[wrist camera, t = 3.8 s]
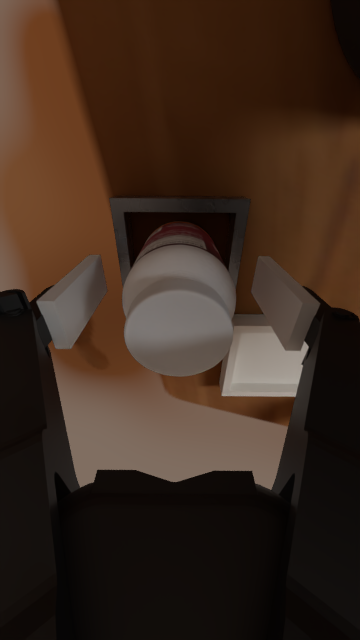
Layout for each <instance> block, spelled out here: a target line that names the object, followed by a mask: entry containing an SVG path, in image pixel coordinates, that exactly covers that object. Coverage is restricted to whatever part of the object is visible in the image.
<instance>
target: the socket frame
mask: <svg viewBox="0 0 360 640" xmlns="http://www.w3.org/2000/svg"><path fill="white" fill-rule="evenodd" d="M109 199H110V206H111V212H112V219H113V225H114V232H115V239H116V245H117V252H118V258H119V264H120V271H121V278H122V285H123V287H124V284H125V281H126V278H127V276H128V274H129V272H130V270H131V268H132V267H133V265H134V263H135V256H134V247H133V238H132V228H131V219H130V212H207V213H230V220H229V228H228V236H227V244H226V252H225V260H224V264H225V266H226V268H227V270H228V272H229V274H230V276H231V278H232V281H233V284H234V287H235V291H236V285H237V279H238V273H239V267H240V261H241V255H242V249H243V242H244V236H245V230H246V224H247V218H248V212H249V206H250V200H251V199H249V198H246V197H227V196H114V197H111V198H109Z"/></svg>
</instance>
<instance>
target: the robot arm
mask: <svg viewBox="0 0 360 640" xmlns="http://www.w3.org/2000/svg"><path fill="white" fill-rule="evenodd" d="M331 4H332V11H333V17H334V22H335V27H336V31H337V34H338V38H339V41H340V44H341V46H342V49H343V52H344V54H345V56H346V58H347V60H348V62H349V64H350V66H351V67H352V69H353V71H354V72H355V74H356V75H357V76H358V77H359V79H360V0H331ZM106 293H107V286H106V281H105V276H104V271H103V266H102V261H101V256H100V255H89V256H87V257H86V258H85V259H84V260H83V261H82V262H80V263H79V264H78V265H77V266H76V267H75V268H74V269H72V270H71V271H70V272H69V273H68V274H67V275H66V276H65V277H63V278H62V279H61V280H60V281H59V282H58V283H56V284H55V285H53V286H50V287H48V288H46V289H45V290H44V291H43V292H41V294H39V295H38V296H37V297H35V298H34V299H33V300H32V301H31V302H30V303H29V301H28V299H27V297H26V294H25V292H24V291H23V290H18V289H13V290H6V291H2V292H0V640H360V322H359V318H358V316H357V315H355V314H354V313H352V312H350V311H348V310H345V309H341V308H331V307H330V306H329V305H328V304H327V303H326V302H325V301H324V300H322V299H321V298H320V297H319V296H318V295H317V294H316V293H314V292H313V291H312V290H311V289H309V288H307V287H305V286H301V285H300V284H299V283H298V282H297V281H296V280H294V279H293V278H292V277H291V276H290V275H289V274H288V273H287V272H286V271H285V270H284V269H283V268H282V267H280V266H279V265H278V264H277V263H276V262H275V261H274V260H273V259H272V258H271V257H270V256H258V260H257V265H256V270H255V274H254V279H253V284H252V289H251V293H252V295H253V297H254V298H255V300H256V302H257V303H258V305H259V307H260V308H261V310H262V312H263V314H264V315H265V317H266V319H267V320H268V322H269V324H270V325H271V327H272V329H273V330H274V332H275V334H276V336H277V337H278V339H279V341H280V342H281V344H282V346H283V347H284V349H285V351H301V349H302V346H303V344H304V341H305V342H306V344H307V345H308V346H309V348H308V350H307V352H306V354H305V357H304V359H303V361H302V363H301V365H303V368H302V372H301V376H300V380H299V384H298V388H297V393H296V397H295V401H294V405H293V409H292V413H291V418H290V422H289V426H288V430H287V434H286V438H285V443H284V447H283V451H282V455H281V459H280V464H279V468H278V472H277V476H276V479H275V482H274V484H273V487H272V490H270V489H267V488H265V487H263V486H261V485H258V484H255V482H254V477H253V473H252V471H212V472H209V473H205V474H202V475H199V476H195V477H192V478H189V479H186V480H182V481H179V482H170V481H167V480H164V479H161V478H158V477H155V476H152V475H149V474H146V473H143V472H140V471H137V470H97V473H96V477H95V480H94V482H93V483H90V484H87V485H85V486H83V487H81V488H80V486H79V484H78V481H77V478H76V474H75V470H74V465H73V461H72V456H71V450H70V446H69V441H68V436H67V432H66V426H65V421H64V416H63V412H62V406H61V401H60V397H59V392H58V387H57V382H56V377H55V372H54V368H53V362H52V358H51V353H50V350H49V347H48V344H49V343H50V342H51V340H52V341H53V343H54V346H55V348H56V349H71V348H72V346H73V345H74V343H75V342H76V340H77V338H78V337H79V335H80V334H81V332H82V330H83V329H84V327H85V326H86V324H87V323H88V321H89V319H90V318H91V316H92V315H93V313H94V311H95V310H96V308H97V307H98V305H99V304H100V302H101V300H102V299H103V297H104V296H105V294H106Z"/></svg>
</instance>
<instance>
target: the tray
mask: <svg viewBox="0 0 360 640" xmlns="http://www.w3.org/2000/svg"><path fill="white" fill-rule="evenodd" d="M231 322H232V327H233V340H232V344H231V347H230V349H229V351H228V353H227V354H226V356H225V357H224V358H223V362H222V368H221V374H220V381H219V384H220V389H221V395H222V396H293V397H296V393H297V388H298V384H299V380H300V376H301V372H302V368H303V365H301V363H302V361H303V359H304V357H305V354H306V352H307V350H308V348H309V346H308V345H307V344H306V342H305V341H304V344H303V346H302V349H301V351H285V349H284V347H283V346H282V344H281V342H280V341H279V339H278V337H277V336H276V334H275V332H274V330H273V329H272V327H271V325H270V324H269V322H268V320H267V319H266V317H265V315H264V314H234V315H233V318H232V320H231ZM359 322H360V321H359Z"/></svg>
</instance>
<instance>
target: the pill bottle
mask: <svg viewBox="0 0 360 640" xmlns="http://www.w3.org/2000/svg"><path fill="white" fill-rule="evenodd" d="M122 305H123V310H124V314H125V316H126V322H125V326H124V339H125V343H126V346H127V348H128V350H129V352H130V353H131V355H132V356H133V357H134V359H135V360H136V361H138V362H139V363H140V364H141V365H143V366H144V367H146V368H148V369H150V370H152V371H154V372H156V373H160V374H163V375H169V376H190V375H195V374H199V373H202V372H204V371H206V370H209V369H211V368H212V367H214V366H215V365H217V364H218V363H219V362H220V361H221V360H222V359H223V358H224V357H225V356H226V354H227V353H228V351H229V349H230V347H231V344H232V340H233V327H232V322H231V320H232V318H233V315H234V312H235V307H236V292H235V287H234V284H233V281H232V278H231V276H230V274H229V272H228V270H227V268H226V266H225V264H224V262H223V260H222V258H221V256H220V254H219V252H218V250H217V248H216V246H215V244H214V242H213V240H212V239H211V237H210V236H209V235H208V234H207V233H206V232H205V231H204V230H203V229H202V228H201V227H199V226H197V225H195V224H193V223H190V222H185V221H174V222H169V223H166V224H164V225H162V226H160V227H159V228H157V229H156V230H155V231H154V232H153V233H152V234H151V235H150V236H149V237H148V239H147V240H146V242H145V244H144V246H143V248H142V250H141V251H140V253H139V255H138V257H137V259H136V261H135V263H134V265H133V267H132V268H131V270H130V272H129V274H128V276H127V278H126V281H125V284H124V287H123V293H122Z"/></svg>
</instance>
